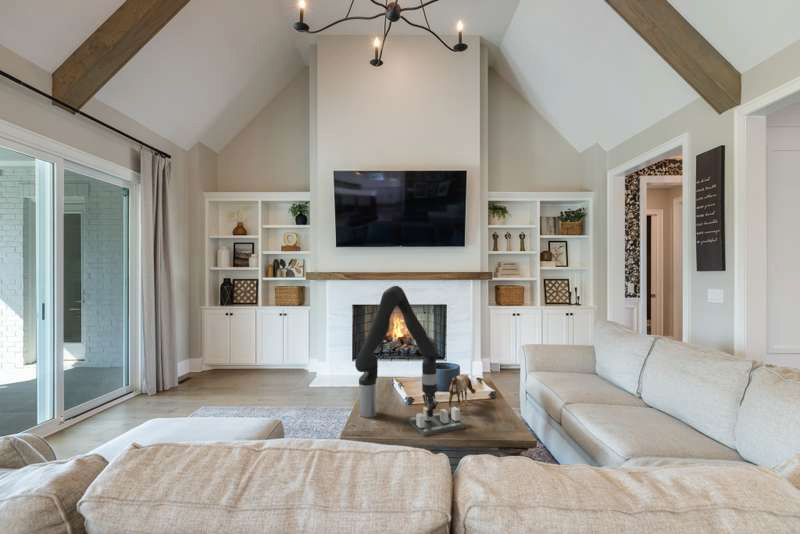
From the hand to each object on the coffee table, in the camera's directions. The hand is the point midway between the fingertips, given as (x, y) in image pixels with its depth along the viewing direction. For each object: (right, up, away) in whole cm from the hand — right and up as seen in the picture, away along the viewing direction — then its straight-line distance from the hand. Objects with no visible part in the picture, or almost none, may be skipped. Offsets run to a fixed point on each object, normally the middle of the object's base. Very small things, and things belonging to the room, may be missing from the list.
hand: (430, 416), depth 202 cm
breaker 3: (+7, -3, +1) cm, 8 cm away
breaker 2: (-1, -3, +4) cm, 5 cm away
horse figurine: (+21, -5, +24) cm, 32 cm away
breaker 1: (-5, -3, -4) cm, 7 cm away
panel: (+3, -5, +2) cm, 6 cm away
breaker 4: (+13, -3, +3) cm, 14 cm away
